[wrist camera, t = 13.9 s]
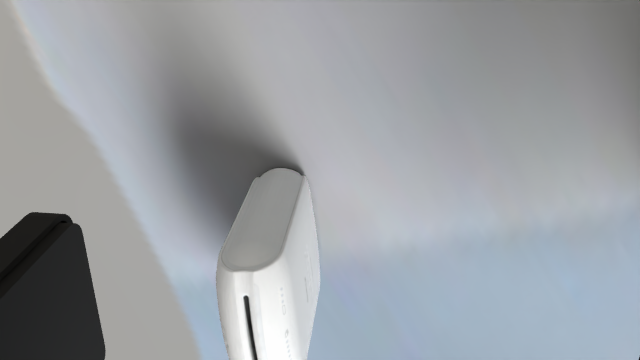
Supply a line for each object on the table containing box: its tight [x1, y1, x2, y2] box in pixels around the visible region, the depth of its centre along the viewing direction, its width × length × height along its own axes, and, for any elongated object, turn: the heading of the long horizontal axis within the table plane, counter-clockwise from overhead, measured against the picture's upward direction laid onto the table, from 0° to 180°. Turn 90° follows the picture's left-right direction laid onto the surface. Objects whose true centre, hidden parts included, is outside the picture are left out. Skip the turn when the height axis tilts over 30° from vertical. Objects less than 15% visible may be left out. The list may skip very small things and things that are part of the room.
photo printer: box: [216, 168, 320, 360], centre depth 37 cm, size 10×4×12 cm, turn 5°
